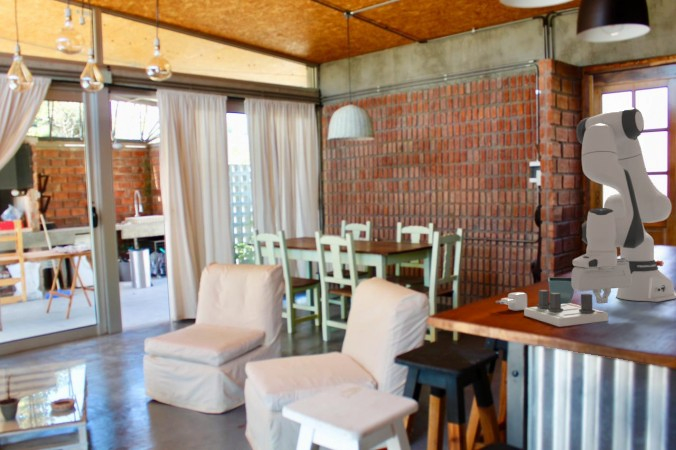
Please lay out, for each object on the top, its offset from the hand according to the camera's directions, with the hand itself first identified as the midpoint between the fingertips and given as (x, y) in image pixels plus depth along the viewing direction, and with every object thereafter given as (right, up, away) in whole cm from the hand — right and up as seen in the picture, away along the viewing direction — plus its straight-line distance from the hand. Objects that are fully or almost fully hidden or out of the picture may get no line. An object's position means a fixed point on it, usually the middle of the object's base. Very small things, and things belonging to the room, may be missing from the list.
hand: (602, 303), depth 186 cm
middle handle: (-14, -3, +2) cm, 14 cm away
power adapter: (-23, -5, +18) cm, 30 cm away
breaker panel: (-11, -5, +3) cm, 12 cm away
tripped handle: (-6, -3, -2) cm, 6 cm away
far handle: (-16, -3, +8) cm, 18 cm away
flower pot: (-3, -4, +26) cm, 27 cm away
